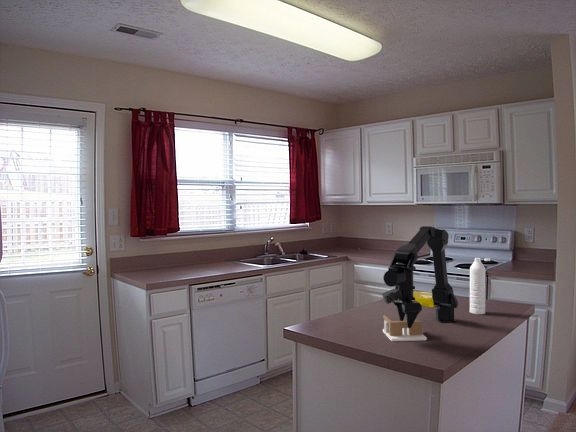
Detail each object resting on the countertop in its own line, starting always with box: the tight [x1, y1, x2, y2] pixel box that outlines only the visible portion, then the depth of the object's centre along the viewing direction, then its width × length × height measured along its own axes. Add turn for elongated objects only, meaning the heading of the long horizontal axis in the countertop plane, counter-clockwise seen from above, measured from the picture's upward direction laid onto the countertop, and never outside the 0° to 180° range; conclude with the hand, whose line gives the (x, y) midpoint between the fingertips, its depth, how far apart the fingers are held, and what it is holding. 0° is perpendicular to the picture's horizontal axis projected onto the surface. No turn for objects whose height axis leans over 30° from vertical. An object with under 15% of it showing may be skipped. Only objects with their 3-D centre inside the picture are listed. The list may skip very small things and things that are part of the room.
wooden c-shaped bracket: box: [382, 315, 423, 336], centre depth 167 cm, size 10×12×5 cm
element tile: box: [412, 290, 437, 308], centre depth 217 cm, size 15×15×5 cm
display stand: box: [382, 319, 428, 342], centre depth 165 cm, size 12×13×5 cm
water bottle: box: [469, 257, 491, 315], centre depth 195 cm, size 9×6×25 cm
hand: (405, 324), depth 162 cm, fingers open, 9 cm apart
